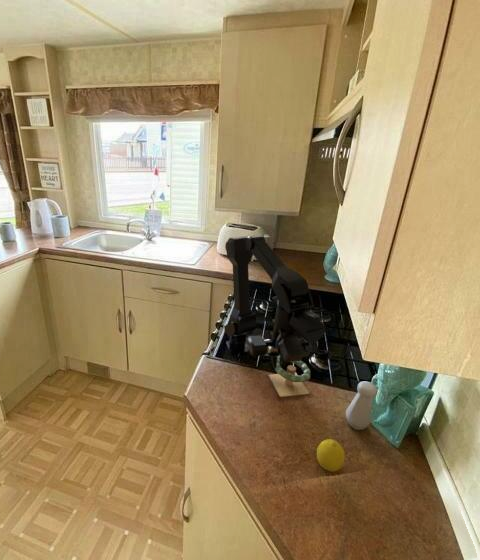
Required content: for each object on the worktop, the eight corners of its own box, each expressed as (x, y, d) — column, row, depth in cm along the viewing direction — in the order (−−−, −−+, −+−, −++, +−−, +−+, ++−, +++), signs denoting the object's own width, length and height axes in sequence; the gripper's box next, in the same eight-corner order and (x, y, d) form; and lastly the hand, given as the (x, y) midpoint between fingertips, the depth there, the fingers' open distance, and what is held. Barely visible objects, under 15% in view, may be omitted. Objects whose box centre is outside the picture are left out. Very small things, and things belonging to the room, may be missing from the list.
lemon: (308, 458, 73) (315, 434, 69) (329, 453, 74) (337, 429, 70) (323, 482, 68) (331, 457, 64) (345, 476, 69) (354, 451, 66)
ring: (267, 357, 94) (268, 353, 94) (298, 359, 97) (300, 354, 96) (281, 383, 85) (283, 378, 84) (315, 384, 87) (318, 379, 87)
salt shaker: (372, 433, 79) (387, 395, 74) (349, 432, 79) (362, 394, 74) (361, 414, 84) (374, 377, 79) (340, 414, 84) (351, 376, 79)
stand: (268, 377, 97) (271, 359, 94) (295, 374, 98) (299, 356, 95) (279, 399, 89) (283, 380, 86) (309, 396, 90) (313, 377, 87)
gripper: (263, 342, 74) (255, 391, 81) (335, 336, 77) (322, 384, 84) (248, 317, 84) (242, 363, 91) (312, 313, 87) (302, 358, 94)
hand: (277, 367), depth 90 cm, fingers closed on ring, 2 cm apart
